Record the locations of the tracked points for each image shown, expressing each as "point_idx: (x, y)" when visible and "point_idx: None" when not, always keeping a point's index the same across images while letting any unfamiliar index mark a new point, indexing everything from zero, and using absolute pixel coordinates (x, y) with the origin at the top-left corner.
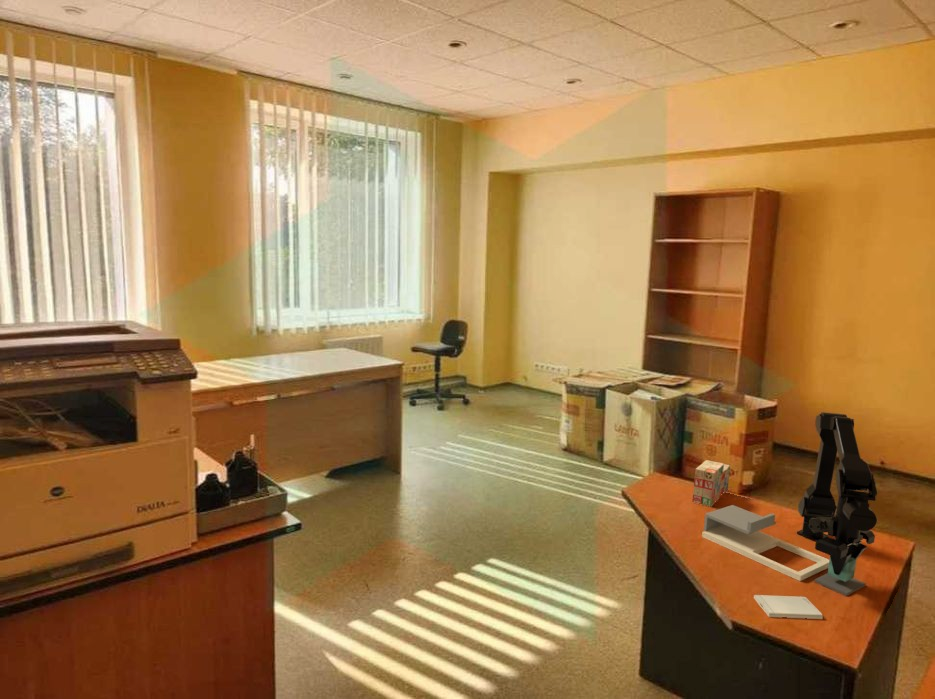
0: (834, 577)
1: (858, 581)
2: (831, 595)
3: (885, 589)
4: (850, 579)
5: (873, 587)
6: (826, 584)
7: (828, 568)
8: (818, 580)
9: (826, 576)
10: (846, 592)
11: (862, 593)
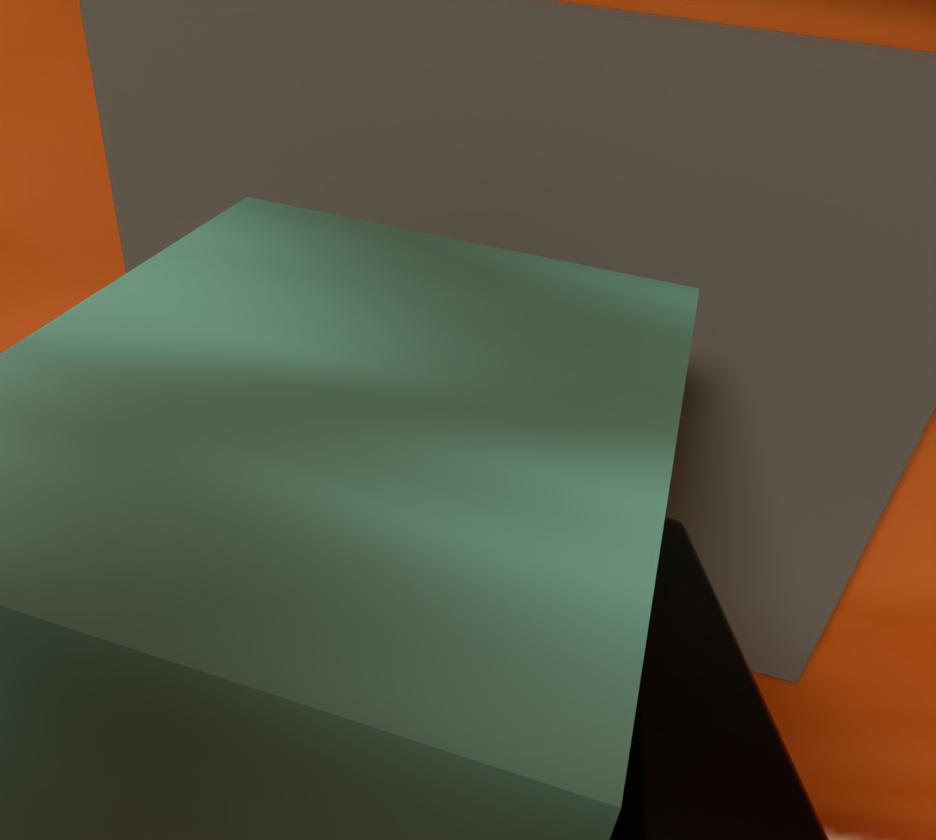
0: (571, 241)
1: (777, 599)
2: (12, 335)
3: (888, 833)
4: (754, 491)
5: (825, 727)
6: (135, 212)
7: (154, 261)
8: (126, 32)
9: (467, 89)
10: None
11: None
